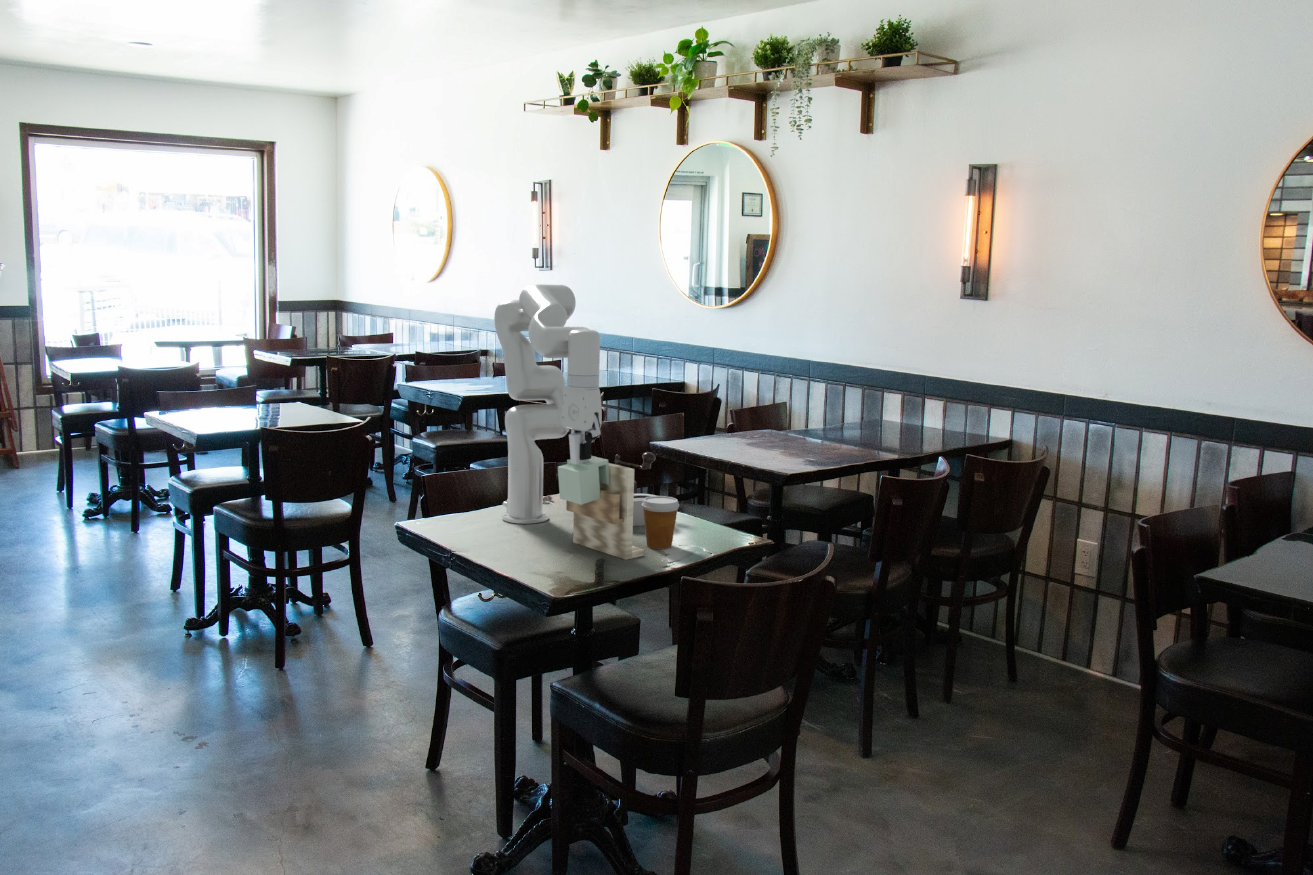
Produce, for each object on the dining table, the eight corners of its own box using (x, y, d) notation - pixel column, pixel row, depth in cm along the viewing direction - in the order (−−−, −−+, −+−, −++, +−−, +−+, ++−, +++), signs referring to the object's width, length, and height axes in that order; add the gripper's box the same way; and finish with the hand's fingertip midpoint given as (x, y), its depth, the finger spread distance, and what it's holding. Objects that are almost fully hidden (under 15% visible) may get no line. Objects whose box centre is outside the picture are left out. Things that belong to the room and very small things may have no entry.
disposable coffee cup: (651, 552, 256) (652, 505, 254) (634, 543, 264) (635, 497, 262) (684, 548, 260) (686, 502, 258) (667, 539, 269) (668, 494, 267)
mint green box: (560, 498, 251) (555, 434, 247) (589, 489, 257) (585, 426, 253) (581, 504, 245) (576, 439, 241) (610, 495, 251) (606, 431, 247)
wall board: (563, 544, 261) (564, 458, 258) (591, 538, 268) (592, 454, 264) (615, 561, 247) (618, 471, 243) (644, 555, 253) (646, 467, 250)
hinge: (665, 520, 288) (668, 490, 284) (668, 530, 284) (671, 499, 280) (605, 521, 286) (608, 490, 281) (607, 531, 281) (610, 500, 277)
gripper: (550, 379, 248) (549, 455, 251) (592, 386, 237) (591, 465, 240) (574, 377, 254) (573, 451, 257) (617, 384, 242) (615, 461, 245)
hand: (581, 457), depth 248 cm, fingers closed on mint green box
